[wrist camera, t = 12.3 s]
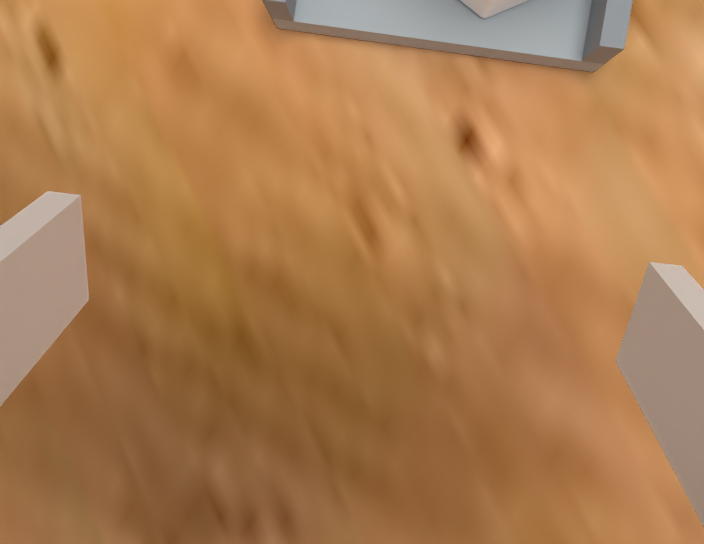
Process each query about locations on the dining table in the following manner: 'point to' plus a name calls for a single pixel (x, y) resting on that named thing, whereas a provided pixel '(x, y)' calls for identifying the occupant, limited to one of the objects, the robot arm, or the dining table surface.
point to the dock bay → (472, 27)
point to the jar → (490, 6)
